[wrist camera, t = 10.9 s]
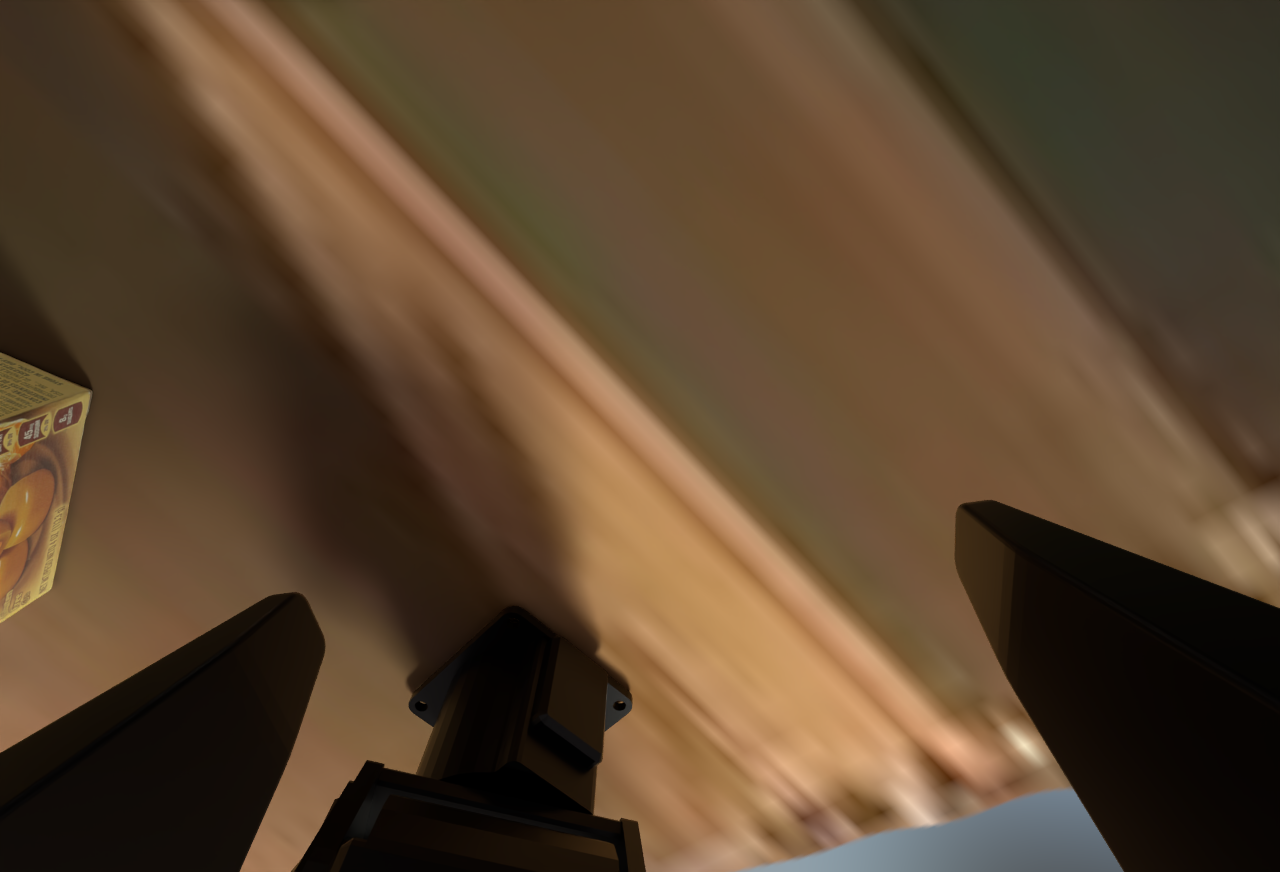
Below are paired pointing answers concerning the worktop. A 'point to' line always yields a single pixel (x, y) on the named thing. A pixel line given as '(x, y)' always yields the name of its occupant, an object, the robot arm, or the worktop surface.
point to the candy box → (35, 476)
